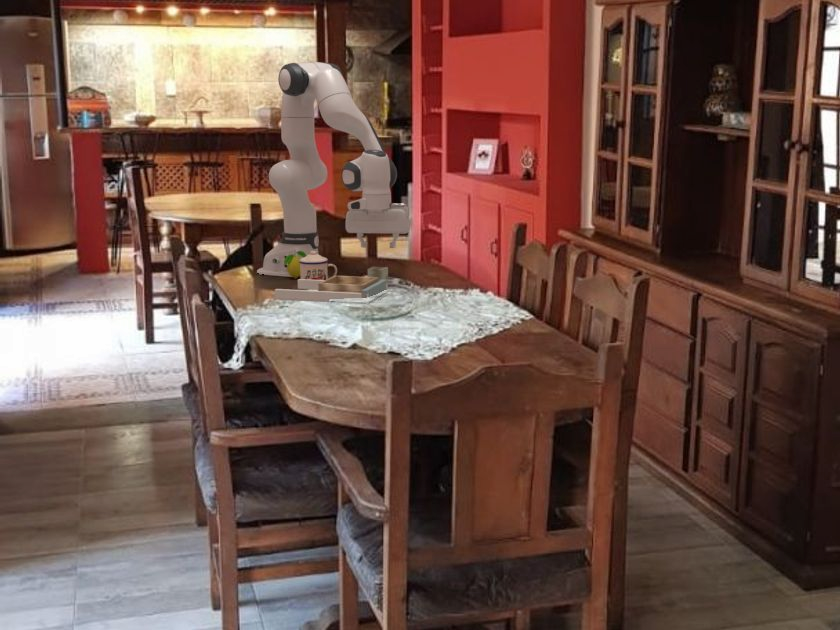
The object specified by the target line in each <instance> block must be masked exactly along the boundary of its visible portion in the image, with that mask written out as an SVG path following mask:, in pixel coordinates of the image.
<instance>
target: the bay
mask: <svg viewBox="0 0 840 630" xmlns="http://www.w3.org/2000/svg"><path fill="white" fill-rule="evenodd" d="M323 281H325V280H310V279H301V278H299V279H298V278H297V289H290V288H289V289H288V288H287V289H284V288H276V289H275V288H274V300H285V301H306V302H325V303H330V302H329V300H330V299H344V298H367V297H370V296H373V295H376V294H378V293H380V292H382V291H384V290H387V289H388V287H389V282H388V283H387V280H384V279H382V280H380V281H378V282H376V283H375V284H373V285H371V286H369V287H367V288H365V289H363V290H361V293H352V292H331V291H318V283H321V282H323Z"/></svg>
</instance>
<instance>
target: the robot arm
mask: <svg viewBox="0 0 840 630" xmlns="http://www.w3.org/2000/svg"><path fill="white" fill-rule="evenodd" d="M277 81H278V86H279V88H280V90H281V91H282V96H281V106H280V109H281V110H280V121H281V122H280V128H281V129H280V130H281V135H280V136H281V142H282V144H284V145H285V146H286V148H287V150H288V153H289V156H290V159H283V160H281V161H279V162H277V163H276V164H274V165H272V167H270V170H269V173H268V181H269V184H270V185H271V188H272V189H273V190H274V191H275V192H276V193H277V195H278V198H279V200H280V203H281V209H282V212H283V213H282V215H283V229H284V231H283V232H281V233H280V234H278V235H277V239H278V240H279V243H278V244H277V245H275V246H274V247H273V248H272V249H271V250H270V251H268V252H267V253H266V254H265V256H264V257H263V265H262V267H260V268H258V269H257V270H256V274H257V273H259V274H258V275H262V274H264V276H275V277H276V276H277V277H289V278H294V277H293V276H291V275H289V273H288V271H287V264H288V263H287V264H284V260H285V258H286V257H287V256H288V255H293V254H294V255H293V257H294V256H296V257H298V258H300V259H301V258H303V257H301V256H300V255H298V254H297V253H296V252H299V251H303V252H304V253H305V254H306V256H307V255H310V252H311V251H316V252H317V254H318V255H320V254H319V242H320V241H319V232H318V230H317V229H318V228H317V210H316V207H315V205H313V204H312V202H311V201H310V197H309V194H308V191H310V190H311V191H312V190H314V189H318V187H321V186H322V185H323V184H325V182H326V181H327V179H328V169H327V166H326V164H325V163H324V161H323V160H322V159H321V157H320V154H319V152H318V148H317V143H316V138H315V137H316V136H315V135H316V134H315V107H314V104H315V101H316V103H317V106H318V109H319V112H320V115H321V117H322V119H323V121H324V123H325V124H326V125H327V126H329V127H330V128H332V129H334V130H337V131H340V132H343V133H347V134H349V135H351V136H353V137H355V138H357V139H358V140H359V142H360V143H361V145H362V147H363V149H364V151H363V152H362V154H361V155H360V156H359V157H357V158H355V159H353V160H351V161H347V162H346V163H345V164H344V165H343V167H342V170H341V181H342V184H343V186H344V187H345V188H346V189H347V190H349V191H350V192H351V191H352V192H362V195H361V196H362V197H361V198H357V199H356V200H353V201H350V202H348V203H347V209H348V211H347V212H346V217H345V231H346V232H347V234H356V238H357V239H358V240H359V242H360V248H367V247H368V241H366V240H364V238H363V236H364V234H392V238H393V239H392V241H390V242H389V249H395V248H396V245H397V243H396V242H397V241H398V239H399V237H400V234H402V235H404V234H407V233H409V231H410V230H411V226H410V217H409V216H410V207H409V206H408V204H405V203H402V202H400V203H397V202H396V203H395V202H393V203H392V192H391V191H392V190H391V188H392V187H393V186H394V184H395V183H396V182H397V181H396V180H397V178H398V171H397V167H396V166H395V164H394V162H393V161H392V159H391V158H390V157H389V155H388V154H387V152H386V149H385V148H384V146H383V144H382V141H381V139H380V138H379V135H378V134H377V131H376V130H375V128H374V126H373V123H372V121H370V119H369V117H368V116H367V115H366V114H364V113H363V112H362V111H361V110H360V108H358V106H357V104H356V103H355V101H354V99H353V97H352V94H351V91H350V89H349V86H348V84H347V82H346V80H345V78H344V76H343V73H342V70H341V68H340V66H339V65H336V64H335V63H330V62H320V61H309V62H306V61H305V62H289V63H287V64H284V65H283V66H282V67H281V69H280V71H279V73H278V80H277ZM294 249H295V251H296V252H295V251H294Z"/></svg>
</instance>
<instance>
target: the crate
mask: <svg viewBox="0 0 840 630" xmlns="http://www.w3.org/2000/svg"><path fill="white" fill-rule="evenodd" d="M330 277H331V276H330ZM378 281H379V277H368V276H356V275H355V276H354V275H353V276H352V275H350V276H349V275H336V276H334V277H331V278H329V279H327V280H325V281H323V282H321V283H318V290H317V291H331V292H352V293H361V290H363V289H365V288H367V287H369V286H371V285H373V284H375V283H376V282H378Z"/></svg>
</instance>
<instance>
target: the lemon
mask: <svg viewBox="0 0 840 630" xmlns="http://www.w3.org/2000/svg"><path fill="white" fill-rule="evenodd" d="M294 251H295V249H294ZM295 252H296V251H295ZM296 253H297V254H298V255H300V256H301V257H303V258H304V257H306V254H305V253H304V252H303V251H299V252H296ZM293 255H294V254H293ZM293 255H288V256H287V257H286V258H285V260H284V264H287V263H288V264H287V271H288V273H289V275H291V276H293V277H292V278H293V279H295V280H296V279H297V280H298V278H299V277H301V274H300V262H299V261H300V258H298V257H296V256H294V257H293Z"/></svg>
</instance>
